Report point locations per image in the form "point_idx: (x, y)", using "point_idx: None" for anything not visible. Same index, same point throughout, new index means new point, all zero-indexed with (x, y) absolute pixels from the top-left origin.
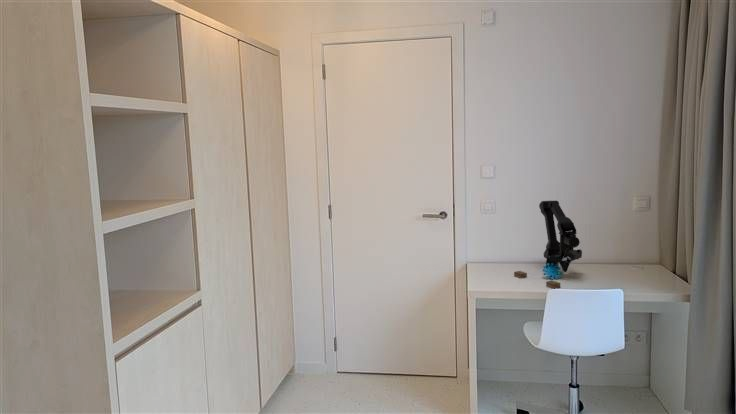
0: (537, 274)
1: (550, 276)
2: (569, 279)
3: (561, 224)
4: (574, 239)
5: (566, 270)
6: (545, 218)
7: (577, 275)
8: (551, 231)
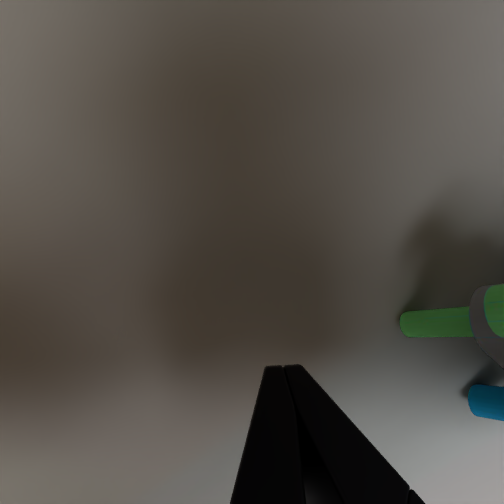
0: (484, 500)
1: (489, 387)
2: (454, 72)
3: None
4: None
5: (278, 392)
6: None
7: (20, 218)
8: None
